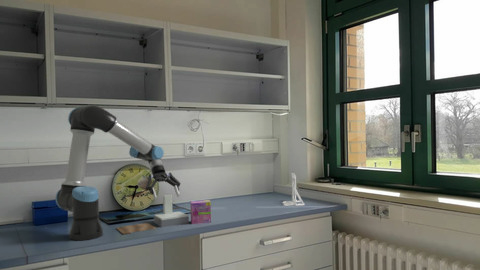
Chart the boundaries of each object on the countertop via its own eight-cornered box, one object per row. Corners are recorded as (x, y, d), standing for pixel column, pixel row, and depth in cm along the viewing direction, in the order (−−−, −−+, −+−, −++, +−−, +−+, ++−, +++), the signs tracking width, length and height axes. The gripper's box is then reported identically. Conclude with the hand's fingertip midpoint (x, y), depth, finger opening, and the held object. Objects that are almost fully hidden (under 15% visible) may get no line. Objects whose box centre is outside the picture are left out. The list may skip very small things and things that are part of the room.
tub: (161, 228, 196) (161, 220, 196) (153, 223, 206) (153, 216, 206) (188, 223, 204) (188, 216, 204) (180, 219, 214) (179, 212, 214)
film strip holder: (281, 202, 261) (281, 173, 261) (301, 201, 261) (301, 172, 261) (284, 206, 247) (283, 175, 247) (305, 205, 247) (304, 175, 247)
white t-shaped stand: (161, 220, 196) (161, 199, 196) (154, 216, 206) (154, 196, 206) (187, 216, 204) (187, 196, 204) (179, 212, 214) (179, 193, 213)
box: (192, 225, 201) (191, 202, 201) (190, 222, 207) (190, 201, 207) (211, 223, 204) (211, 201, 204) (209, 221, 209) (209, 199, 209)
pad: (123, 234, 184) (123, 233, 184) (116, 228, 196) (116, 227, 196) (156, 229, 193) (156, 228, 193) (148, 223, 205) (148, 222, 205)
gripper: (175, 170, 234) (185, 198, 222) (135, 174, 221) (144, 203, 208) (178, 162, 229) (189, 190, 217) (137, 165, 216) (147, 195, 204)
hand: (167, 197), depth 213 cm, fingers open, 13 cm apart
